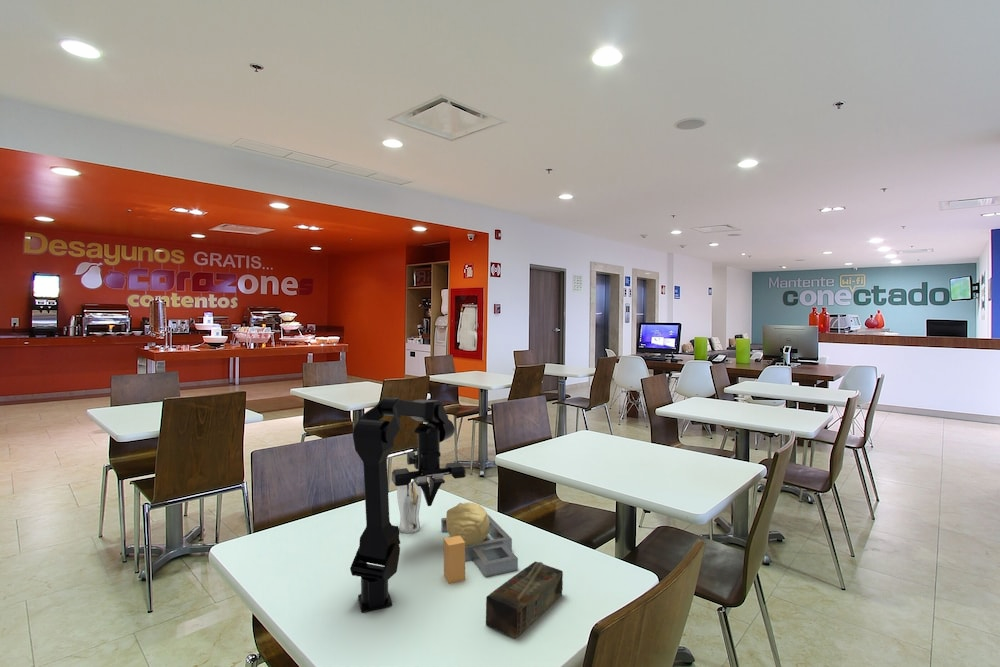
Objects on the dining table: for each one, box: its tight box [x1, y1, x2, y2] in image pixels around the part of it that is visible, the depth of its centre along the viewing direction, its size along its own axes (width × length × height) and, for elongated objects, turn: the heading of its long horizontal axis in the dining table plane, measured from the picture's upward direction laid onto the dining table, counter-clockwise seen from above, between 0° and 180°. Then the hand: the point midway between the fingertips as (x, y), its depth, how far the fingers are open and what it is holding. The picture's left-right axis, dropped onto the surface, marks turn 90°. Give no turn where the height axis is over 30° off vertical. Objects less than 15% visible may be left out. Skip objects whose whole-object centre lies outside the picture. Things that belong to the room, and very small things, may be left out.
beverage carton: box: [485, 561, 564, 639], centre depth 106 cm, size 8×19×7 cm, turn 144°
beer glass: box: [396, 479, 422, 534], centre depth 146 cm, size 7×7×15 cm
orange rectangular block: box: [443, 536, 466, 584], centre depth 119 cm, size 4×4×9 cm
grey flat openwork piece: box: [440, 514, 519, 578], centre depth 134 cm, size 29×14×4 cm, turn 22°
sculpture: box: [445, 502, 490, 545], centre depth 138 cm, size 12×12×11 cm
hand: (429, 505), depth 133 cm, fingers closed
